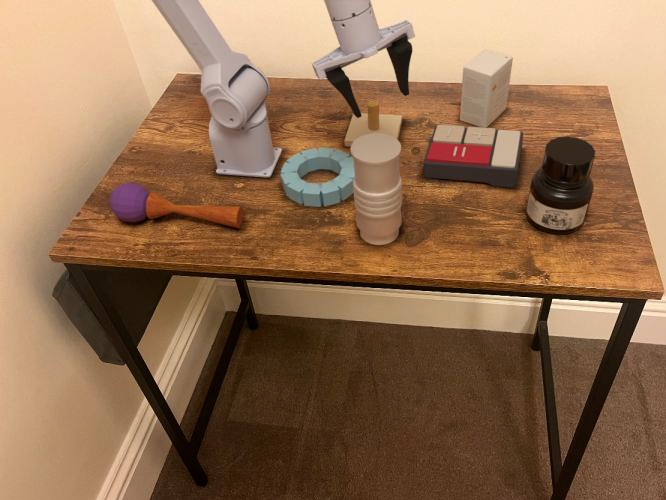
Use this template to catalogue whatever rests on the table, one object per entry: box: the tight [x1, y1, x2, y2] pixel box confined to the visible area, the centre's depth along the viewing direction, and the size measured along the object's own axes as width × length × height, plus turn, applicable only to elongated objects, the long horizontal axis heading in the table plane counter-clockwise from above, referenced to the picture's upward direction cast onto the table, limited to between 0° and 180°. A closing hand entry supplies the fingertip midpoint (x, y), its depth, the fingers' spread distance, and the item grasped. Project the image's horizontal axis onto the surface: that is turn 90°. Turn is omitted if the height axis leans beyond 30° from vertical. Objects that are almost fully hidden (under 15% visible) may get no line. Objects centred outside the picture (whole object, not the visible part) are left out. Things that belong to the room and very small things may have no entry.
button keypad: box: [423, 124, 524, 189], centre depth 103 cm, size 11×4×15 cm
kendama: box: [109, 182, 245, 229], centre depth 94 cm, size 6×6×20 cm
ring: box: [280, 147, 355, 208], centre depth 101 cm, size 12×12×3 cm
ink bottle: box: [525, 136, 596, 235], centre depth 90 cm, size 10×9×12 cm
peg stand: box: [343, 100, 403, 148], centre depth 109 cm, size 9×9×6 cm
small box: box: [459, 48, 514, 128], centre depth 110 cm, size 8×6×10 cm
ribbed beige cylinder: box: [350, 133, 403, 246], centre depth 88 cm, size 7×7×15 cm
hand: (381, 103), depth 90 cm, fingers open, 7 cm apart
